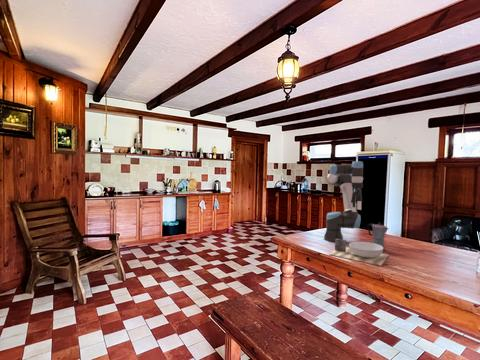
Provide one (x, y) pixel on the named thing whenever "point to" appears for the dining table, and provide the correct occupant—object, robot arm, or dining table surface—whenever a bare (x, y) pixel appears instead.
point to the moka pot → (378, 233)
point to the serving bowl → (366, 249)
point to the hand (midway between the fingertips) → (356, 210)
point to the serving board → (348, 254)
